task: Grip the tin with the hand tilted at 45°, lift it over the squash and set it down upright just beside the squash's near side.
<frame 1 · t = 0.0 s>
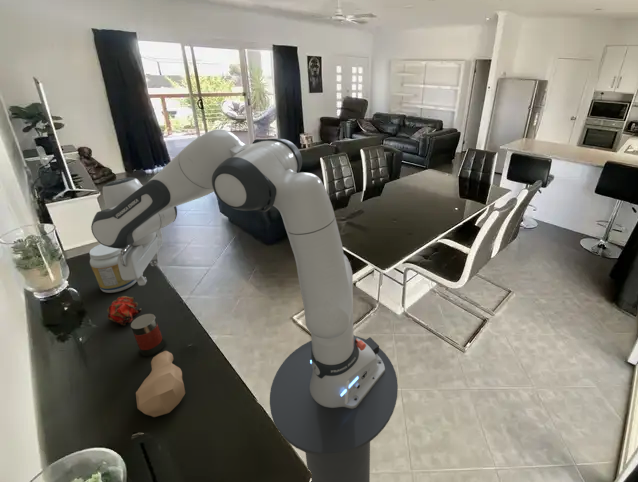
hand: (149, 273, 96), 23 cm above the sideboard, tool pointing down, fingers open, 8 cm apart
supplement tub: (120, 284, 127), on the sideboard
dragon fruit: (127, 319, 111), on the sideboard
squash: (163, 389, 87), on the sideboard
tin: (152, 348, 100), on the sideboard
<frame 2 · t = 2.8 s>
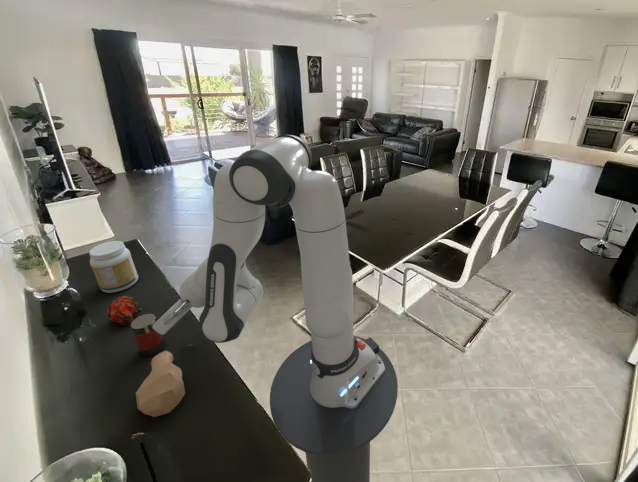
hand: (175, 313, 91), 16 cm above the sideboard, tool tilted 45°, fingers open, 8 cm apart
nothing on the sideboard moved.
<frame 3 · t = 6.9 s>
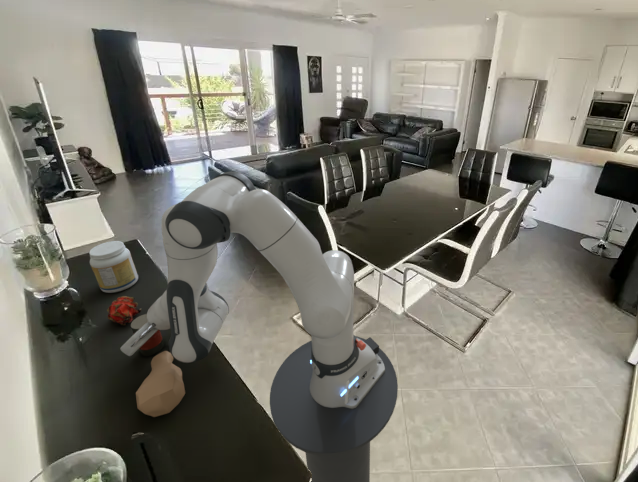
hand: (145, 333, 97), 6 cm above the sideboard, tool tilted 45°, fingers closed on tin, 6 cm apart
tin: (152, 348, 100), on the sideboard, touching gripper
everything else where it was.
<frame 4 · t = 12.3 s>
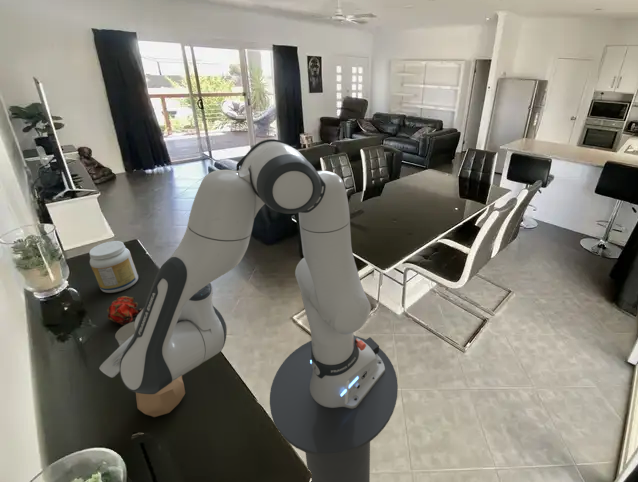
hand: (135, 345, 77), 19 cm above the sideboard, tool tilted 45°, fingers closed on tin, 6 cm apart
tin: (144, 363, 79), point 13 cm above the sideboard, touching gripper
everything else where it was.
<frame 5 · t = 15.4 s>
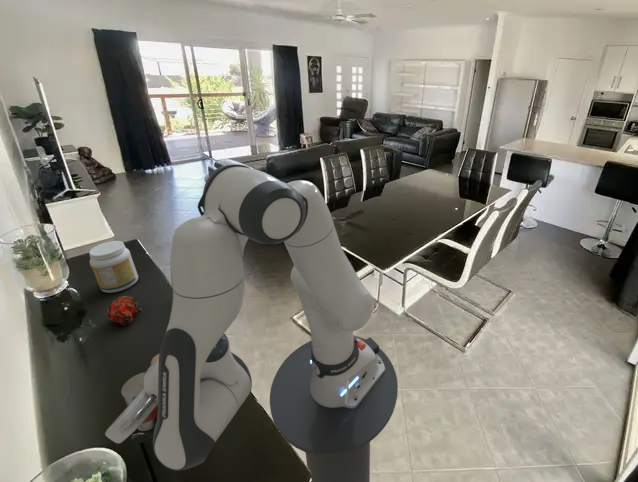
hand: (142, 399, 71), 13 cm above the sideboard, tool tilted 45°, fingers closed on tin, 6 cm apart
tin: (151, 417, 74), point 7 cm above the sideboard, touching gripper
everything else where it was.
when the fingers open (6 cm above the sideboard, at t = 17.9 s): tin stays where it is, on the sideboard.
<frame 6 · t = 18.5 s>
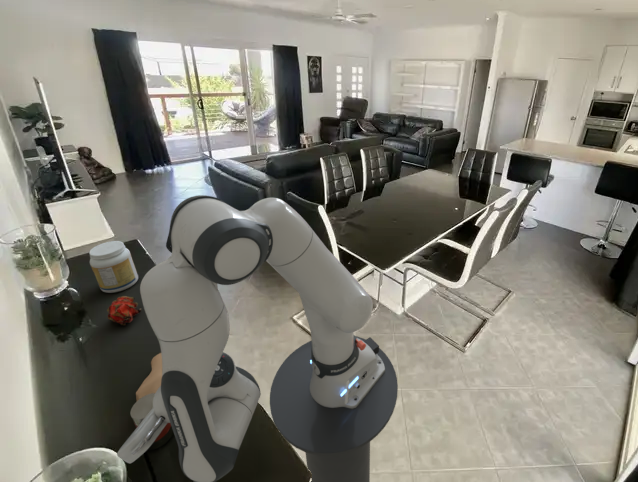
hand: (151, 417, 74), 6 cm above the sideboard, tool tilted 45°, fingers open, 8 cm apart
tin: (159, 435, 77), on the sideboard
everything else where it was.
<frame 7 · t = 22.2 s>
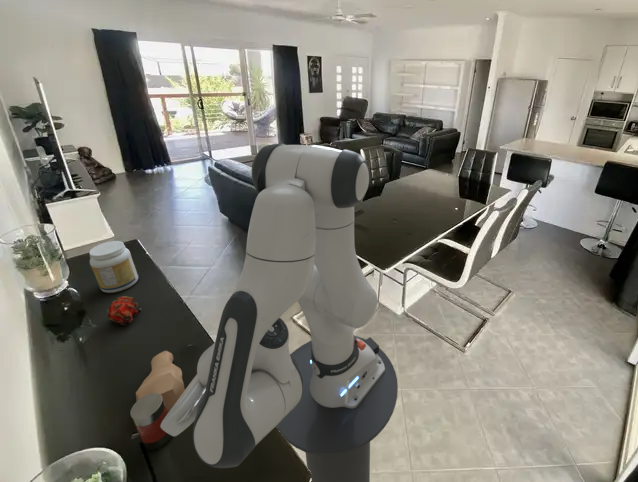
hand: (190, 389, 67), 19 cm above the sideboard, tool tilted 45°, fingers open, 8 cm apart
nothing on the sideboard moved.
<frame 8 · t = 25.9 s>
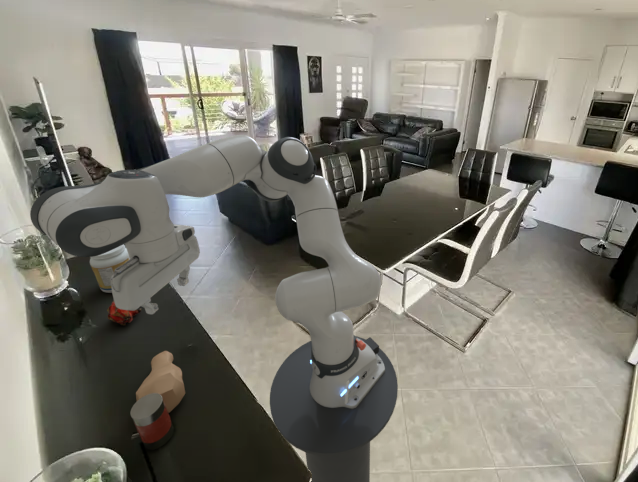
hand: (169, 297, 73), 33 cm above the sideboard, tool pointing down, fingers open, 8 cm apart
nothing on the sideboard moved.
at the end: tin inside the target area (0.2 cm from its centre), on the sideboard; tin 13.2 cm from the squash (horizontally); tin tilted 0° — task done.
